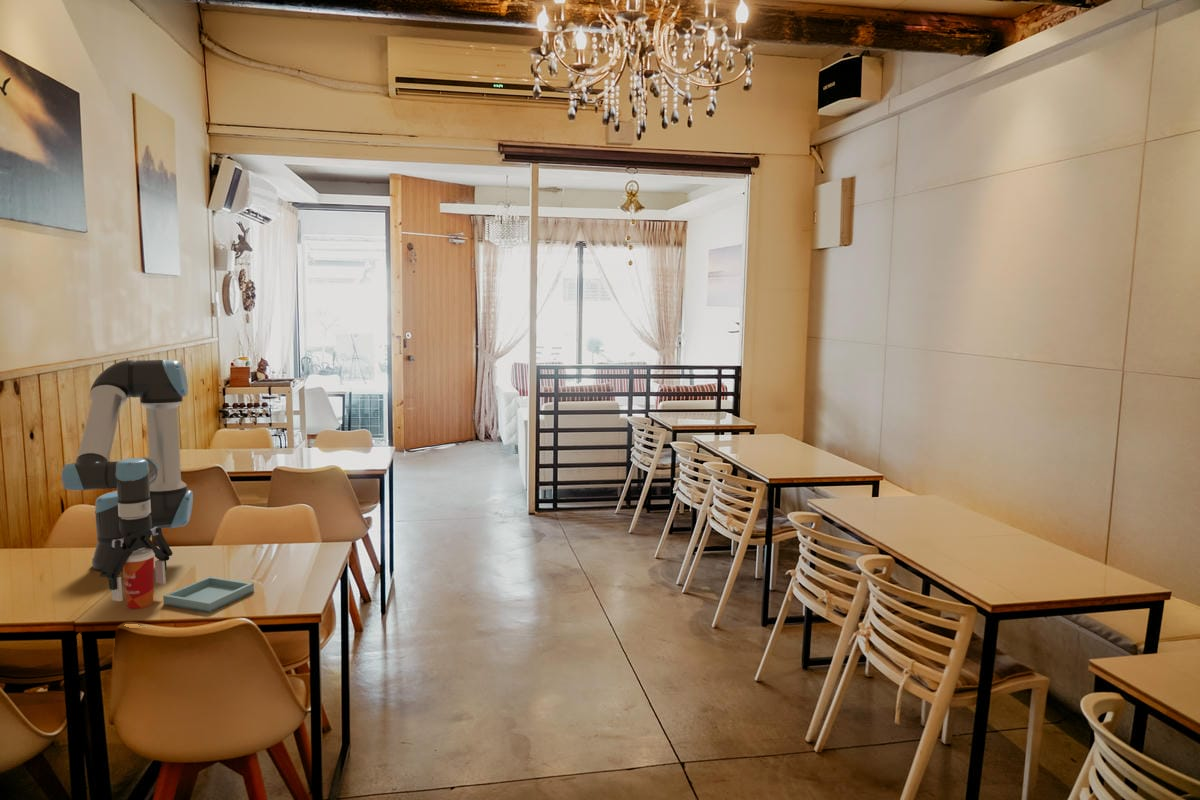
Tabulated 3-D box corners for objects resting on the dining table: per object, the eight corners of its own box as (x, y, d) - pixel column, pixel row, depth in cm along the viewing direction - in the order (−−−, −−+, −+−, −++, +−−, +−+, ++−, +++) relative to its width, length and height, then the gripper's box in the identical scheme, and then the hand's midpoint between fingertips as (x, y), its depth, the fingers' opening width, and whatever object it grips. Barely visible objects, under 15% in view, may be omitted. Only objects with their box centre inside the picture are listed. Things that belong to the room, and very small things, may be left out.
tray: (163, 604, 206) (163, 595, 205) (210, 584, 221) (209, 576, 220) (209, 612, 201) (209, 603, 200) (254, 591, 216) (253, 583, 216)
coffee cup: (119, 604, 206) (116, 551, 204) (153, 596, 211) (150, 545, 210) (127, 613, 200) (123, 559, 198) (161, 605, 205) (158, 552, 204)
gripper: (102, 529, 190) (108, 610, 192) (184, 506, 213) (187, 578, 216) (80, 526, 192) (86, 606, 194) (163, 503, 215) (167, 574, 218)
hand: (139, 591), depth 205 cm, fingers open, 13 cm apart
